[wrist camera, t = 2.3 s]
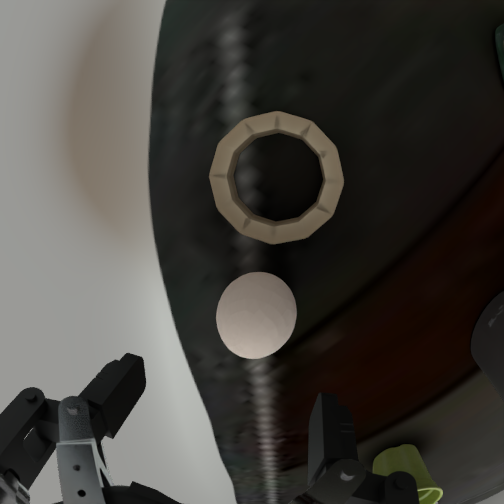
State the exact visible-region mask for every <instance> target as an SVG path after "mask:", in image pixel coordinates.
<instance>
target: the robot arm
mask: <svg viewBox="0 0 504 504" xmlns="http://www.w3.org/2000/svg"><path fill="white" fill-rule="evenodd" d="M471 353H472V356H473V358H474V360H475V361H476V363H477V364H478V365H479V367H480V368H481V369H482V371H483V372H484V374H485V375H486V376H487V378H488V379H489V381H490V382H491V384H492V385H493V387H494V388H495V390H496V391H497V392H498V394H499V395H500V397H501V398H502V400H503V401H504V291H503V292H501V293H499V294H498V295H497V296H496V297H495V298H494V299H493V300H492V301H491V302H490V303H489V304H488V305H487V307H486V308H485V310H484V311H483V313H482V314H481V316H480V318H479V319H478V321H477V323H476V326H475V328H474V331H473V334H472V339H471ZM145 387H146V378H145V369H144V360H143V358H142V357H140V356H137V355H134V354H130V353H126V354H125V355H124V356H123V357H122V358H121V359H120V361H118V360H114V361H112V362H110V363H108V364H106V365H105V367H104V368H103V369H102V370H101V372H100V373H98V374H97V376H96V378H94V379H93V380H92V381H91V382H90V383H89V384H88V386H87V387H86V388H85V389H84V390H83V391H82V392H81V393H80V395H79V396H69V397H67V398H64V399H63V400H62V401H57V400H51V399H47V398H45V396H44V393H43V392H42V391H41V390H40V389H38V388H35V387H30V388H26V389H24V390H23V391H21V392H20V393H19V394H18V396H17V397H16V398H15V399H14V400H13V401H12V402H11V403H10V404H9V405H8V406H7V407H6V409H5V410H4V411H3V412H2V413H1V414H0V504H30V502H29V501H30V495H29V492H28V490H29V488H30V487H31V485H32V483H33V482H34V480H35V479H36V477H37V476H38V474H39V473H40V471H41V470H42V468H43V466H44V465H45V464H46V462H47V461H48V459H49V458H50V456H51V455H52V453H53V452H54V450H55V449H56V451H57V462H58V471H59V479H60V485H61V492H62V497H63V501H61V502H58V503H54V504H181V503H179V502H177V501H175V500H173V499H171V498H170V497H168V496H166V495H164V494H163V493H161V492H159V491H158V490H155V489H152V488H150V487H147V486H144V485H141V484H139V483H136V482H133V481H132V483H131V485H130V486H114V484H113V481H112V479H111V476H110V473H109V469H108V465H107V461H106V457H105V453H104V448H103V443H102V439H103V437H104V436H107V437H110V438H112V439H113V438H114V437H115V435H116V433H117V432H118V430H119V429H120V427H121V426H122V424H123V423H124V421H125V420H126V418H127V417H128V415H129V414H130V412H131V411H132V409H133V408H134V406H135V405H136V403H137V401H138V400H139V398H140V397H141V395H142V394H143V392H144V390H145ZM32 428H33V429H32ZM31 429H32V430H31ZM30 430H31V432H30ZM29 432H30V433H29ZM28 433H29V434H28ZM27 434H28V436H27V437H26V435H27ZM25 437H26V438H25ZM24 438H25V439H24ZM23 440H24V441H23ZM308 485H310V486H311V487H310V488H309V489H308V490H307V491H306V492H305V493H304V494H302V495H299V496H298V497H296V498H295V499H294V500H293V501H292V502H290V503H289V504H420V503H419V496H418V489H417V483H416V480H415V478H414V477H413V476H412V475H411V474H409V473H407V472H404V471H396V472H393V473H391V474H390V475H388V476H383V475H378V474H374V473H371V472H369V471H367V470H365V468H364V466H363V465H362V464H361V463H360V462H359V460H358V454H357V447H356V439H355V433H354V425H353V419H352V414H351V412H350V411H349V410H348V408H347V407H346V406H339V405H338V400H337V395H336V394H331V393H319V395H318V397H317V400H316V403H315V406H314V408H313V411H312V414H311V417H310V422H309V456H308Z"/></svg>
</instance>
